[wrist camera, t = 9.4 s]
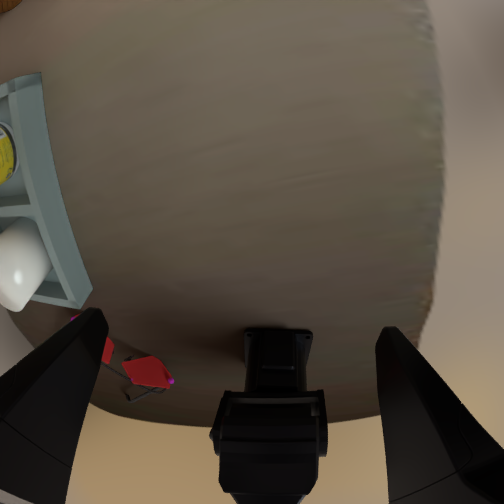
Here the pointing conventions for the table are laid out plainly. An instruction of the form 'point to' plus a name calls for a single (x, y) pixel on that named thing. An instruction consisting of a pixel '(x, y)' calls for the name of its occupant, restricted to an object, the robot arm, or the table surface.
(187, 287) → the table surface
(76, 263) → the tray
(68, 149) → the table surface
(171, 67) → the table surface
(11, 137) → the supplement bottle
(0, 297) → the white pillar candle
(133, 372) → the glasses
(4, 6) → the disposable coffee cup
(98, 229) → the table surface
